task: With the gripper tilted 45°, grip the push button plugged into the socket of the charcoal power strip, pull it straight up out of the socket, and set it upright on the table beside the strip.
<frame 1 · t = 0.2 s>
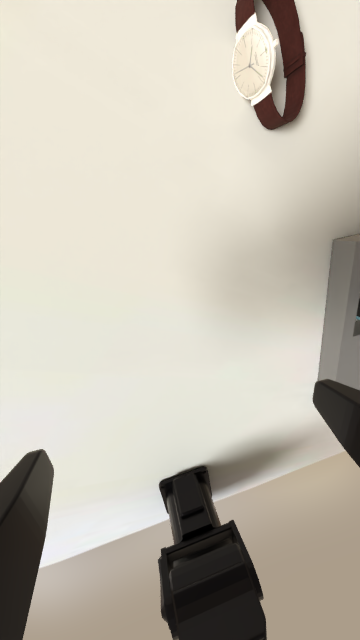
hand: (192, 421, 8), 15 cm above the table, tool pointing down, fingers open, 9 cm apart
watch: (258, 71, 17), on the table
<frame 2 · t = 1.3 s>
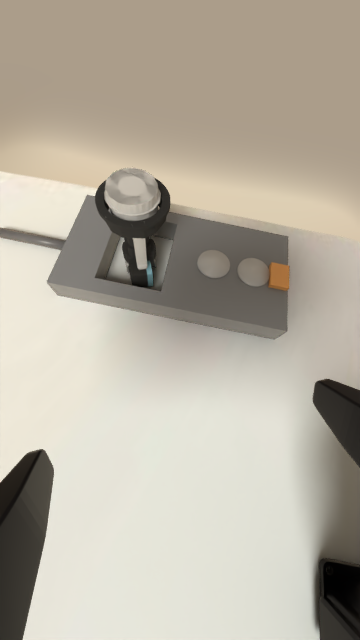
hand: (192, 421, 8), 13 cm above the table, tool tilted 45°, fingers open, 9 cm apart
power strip: (176, 271, 26), on the table
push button: (140, 265, 26), resting in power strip
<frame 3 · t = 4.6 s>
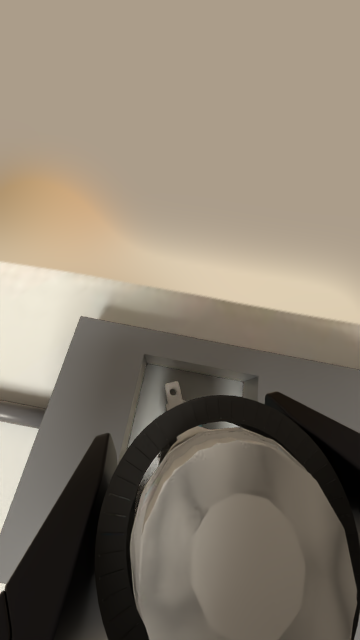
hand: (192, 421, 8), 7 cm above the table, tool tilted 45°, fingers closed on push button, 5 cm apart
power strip: (254, 458, 13), on the table
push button: (183, 444, 13), resting in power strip, touching gripper
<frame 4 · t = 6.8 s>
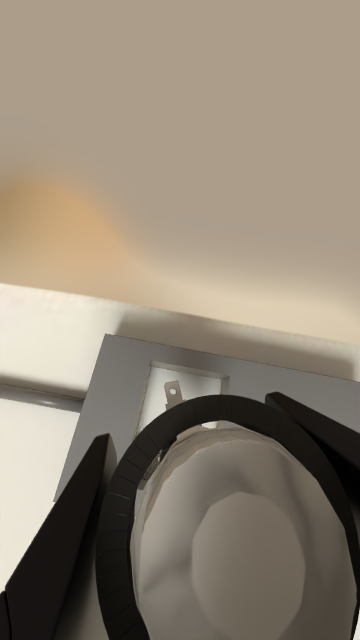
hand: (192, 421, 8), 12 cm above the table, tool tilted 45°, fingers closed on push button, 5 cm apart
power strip: (227, 433, 19), on the table
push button: (183, 443, 14), point 5 cm above the table, touching gripper
when the fingers open (8 cm above the table, at t = 9.2 s): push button drops 1 cm, on the table.
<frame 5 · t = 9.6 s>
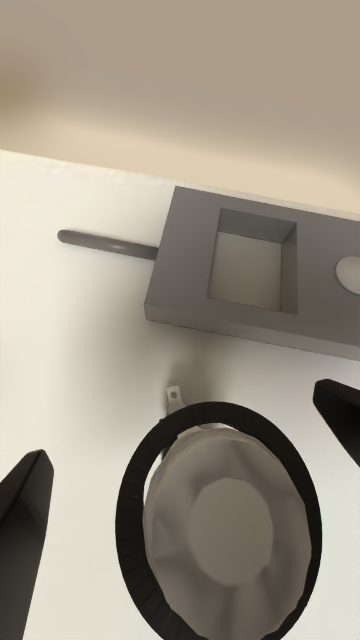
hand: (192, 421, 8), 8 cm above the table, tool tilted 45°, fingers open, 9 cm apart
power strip: (291, 284, 20), on the table
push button: (183, 442, 15), on the table
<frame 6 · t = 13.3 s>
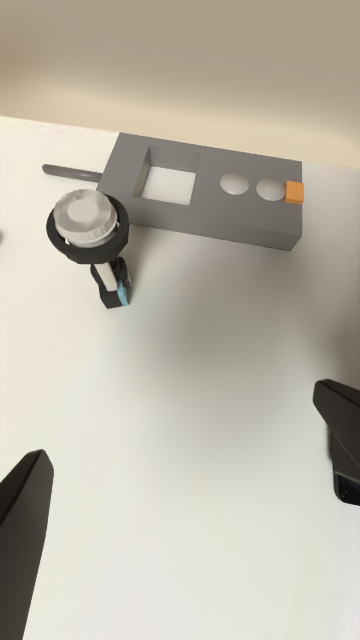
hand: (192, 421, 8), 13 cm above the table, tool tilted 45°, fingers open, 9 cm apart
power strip: (200, 198, 29), on the table
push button: (116, 282, 24), on the table
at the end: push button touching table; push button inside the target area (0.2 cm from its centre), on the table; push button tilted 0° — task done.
